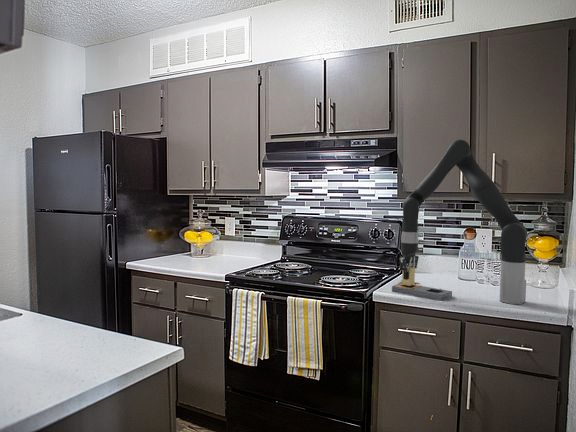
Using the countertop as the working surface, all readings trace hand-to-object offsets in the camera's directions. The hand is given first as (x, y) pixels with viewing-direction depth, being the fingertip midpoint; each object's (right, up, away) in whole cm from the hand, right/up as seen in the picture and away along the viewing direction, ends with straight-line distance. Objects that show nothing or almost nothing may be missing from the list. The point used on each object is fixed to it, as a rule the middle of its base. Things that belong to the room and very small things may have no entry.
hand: (408, 278), depth 213 cm
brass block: (0, -3, 0) cm, 3 cm away
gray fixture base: (+5, -6, -4) cm, 9 cm away
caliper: (+1, -6, +14) cm, 15 cm away
